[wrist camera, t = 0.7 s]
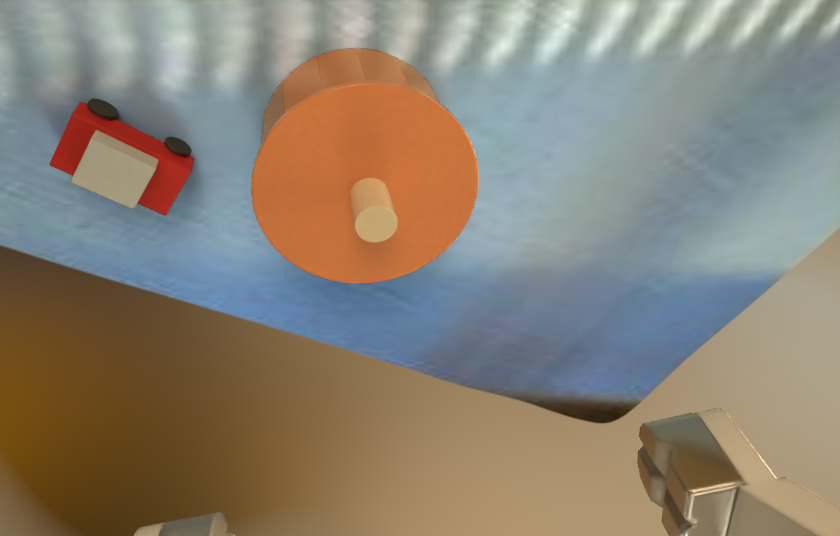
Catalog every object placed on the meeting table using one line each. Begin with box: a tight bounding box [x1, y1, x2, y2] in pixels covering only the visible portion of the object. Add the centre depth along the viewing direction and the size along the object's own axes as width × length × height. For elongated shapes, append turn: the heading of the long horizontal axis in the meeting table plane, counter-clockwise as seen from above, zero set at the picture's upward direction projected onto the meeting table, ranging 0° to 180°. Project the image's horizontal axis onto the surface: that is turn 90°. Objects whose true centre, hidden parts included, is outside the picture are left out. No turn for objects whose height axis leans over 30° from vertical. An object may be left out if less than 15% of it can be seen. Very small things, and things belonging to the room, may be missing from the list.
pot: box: [261, 48, 441, 144], centre depth 41 cm, size 14×14×8 cm
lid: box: [251, 81, 478, 283], centre depth 37 cm, size 15×15×5 cm
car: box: [50, 99, 194, 215], centre depth 39 cm, size 8×5×4 cm, turn 52°
